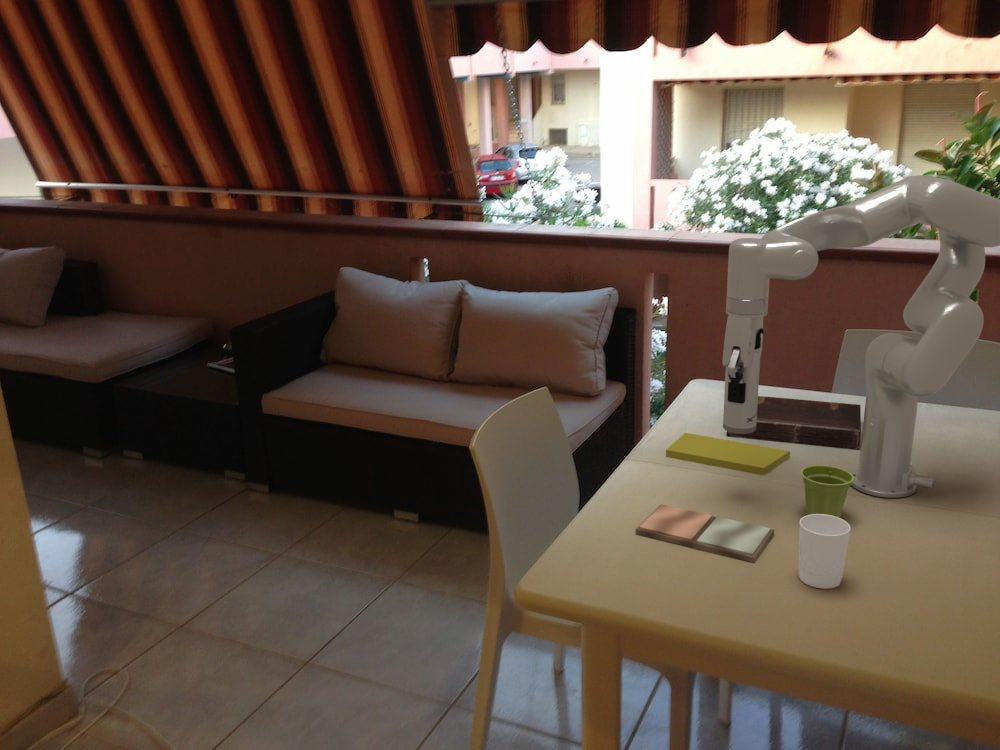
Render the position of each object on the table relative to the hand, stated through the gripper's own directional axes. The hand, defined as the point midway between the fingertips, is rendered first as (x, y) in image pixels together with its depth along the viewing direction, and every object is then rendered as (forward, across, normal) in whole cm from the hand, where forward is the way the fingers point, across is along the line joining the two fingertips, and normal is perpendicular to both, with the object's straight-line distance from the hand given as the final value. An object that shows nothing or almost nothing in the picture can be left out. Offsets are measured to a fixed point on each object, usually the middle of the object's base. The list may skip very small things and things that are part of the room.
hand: (741, 396), depth 179 cm
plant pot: (+22, 0, +17) cm, 27 cm away
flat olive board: (+22, -20, -8) cm, 31 cm away
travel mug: (+7, 0, 0) cm, 7 cm away
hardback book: (+22, -44, 0) cm, 49 cm away
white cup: (+22, +24, +22) cm, 39 cm away
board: (+21, +18, 0) cm, 28 cm away
